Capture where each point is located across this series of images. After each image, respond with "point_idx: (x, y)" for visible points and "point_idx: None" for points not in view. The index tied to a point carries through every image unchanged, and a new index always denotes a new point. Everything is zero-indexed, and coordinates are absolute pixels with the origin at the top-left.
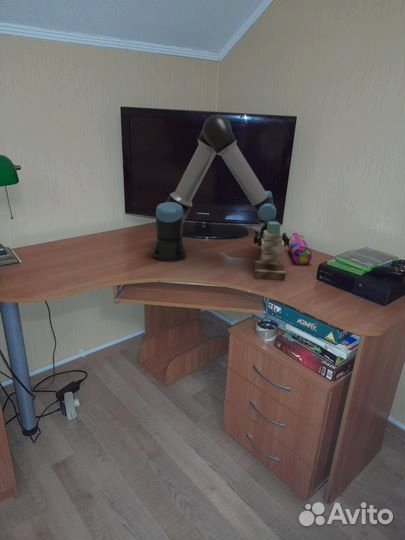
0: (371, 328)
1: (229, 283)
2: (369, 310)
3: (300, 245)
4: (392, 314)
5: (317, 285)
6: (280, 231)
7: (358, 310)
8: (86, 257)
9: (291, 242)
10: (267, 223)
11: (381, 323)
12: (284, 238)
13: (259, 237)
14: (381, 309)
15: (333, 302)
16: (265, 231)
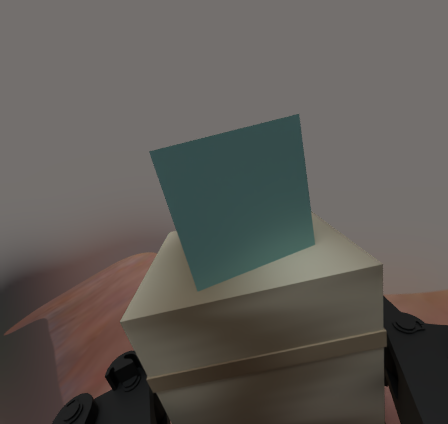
0: (127, 259)
1: (394, 294)
2: (86, 296)
3: None
4: (59, 298)
5: (104, 386)
6: (139, 302)
7: (105, 290)
8: None
9: None
10: (295, 139)
11: (103, 272)
12: (126, 355)
13: (442, 356)
14: (59, 307)
15: (130, 300)
16: (324, 239)
